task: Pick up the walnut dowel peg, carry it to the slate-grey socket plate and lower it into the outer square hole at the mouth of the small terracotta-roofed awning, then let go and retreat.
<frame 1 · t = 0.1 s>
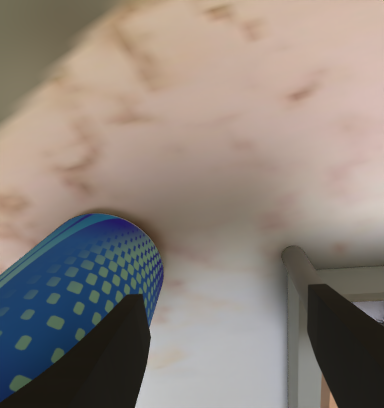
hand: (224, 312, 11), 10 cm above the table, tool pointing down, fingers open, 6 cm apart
beer can: (112, 257, 22), on the table, touching gripper
socket plate: (352, 344, 23), on the table
awning: (357, 276, 21), resting in socket plate
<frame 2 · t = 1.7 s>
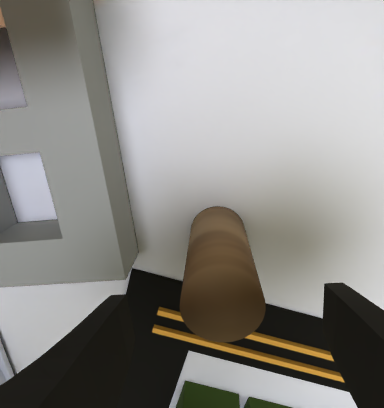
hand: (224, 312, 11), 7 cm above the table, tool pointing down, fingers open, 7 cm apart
peg: (217, 231, 18), on the table
socket plate: (31, 147, 17), on the table
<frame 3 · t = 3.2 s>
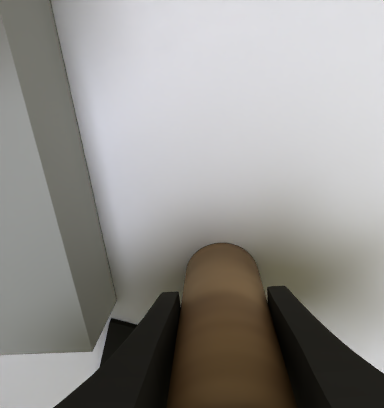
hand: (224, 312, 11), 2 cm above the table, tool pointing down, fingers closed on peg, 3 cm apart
peg: (221, 275, 13), on the table, touching gripper
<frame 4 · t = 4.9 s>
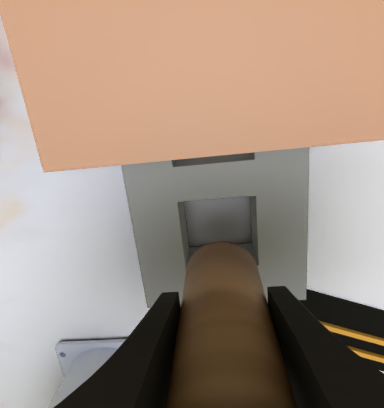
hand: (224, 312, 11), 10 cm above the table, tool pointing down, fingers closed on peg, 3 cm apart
peg: (221, 274, 13), point 7 cm above the table, touching gripper
socket plate: (215, 184, 19), on the table
awning: (206, 82, 17), resting in socket plate
when the fingers open (4 cm above the table, at t = 6.6 s): peg drops 1 cm, resting in socket plate.
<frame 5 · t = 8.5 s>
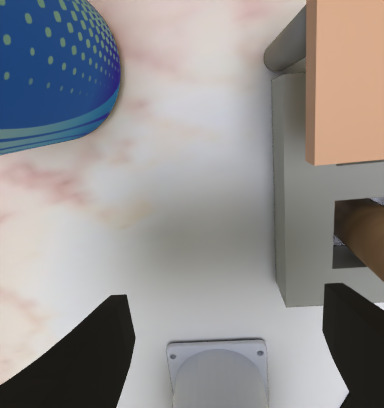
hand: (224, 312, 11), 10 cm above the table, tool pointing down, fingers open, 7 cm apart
peg: (350, 215, 20), resting in socket plate
beer can: (62, 71, 19), on the table
socket plate: (351, 184, 19), on the table
awning: (356, 83, 18), resting in socket plate
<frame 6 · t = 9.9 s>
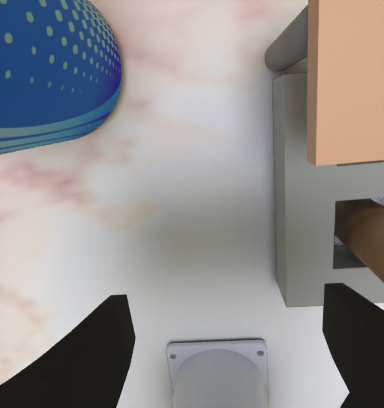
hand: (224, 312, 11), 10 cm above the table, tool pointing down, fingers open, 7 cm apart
peg: (350, 216, 20), resting in socket plate
beer can: (63, 70, 19), on the table
socket plate: (351, 185, 19), on the table
awning: (357, 84, 18), resting in socket plate
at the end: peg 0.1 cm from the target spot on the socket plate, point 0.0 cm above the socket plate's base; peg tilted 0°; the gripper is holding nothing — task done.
